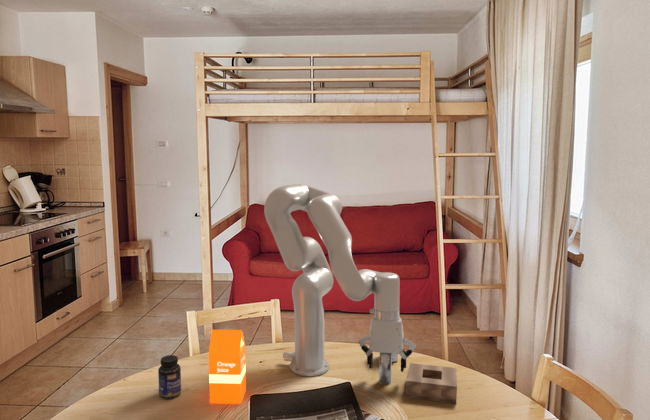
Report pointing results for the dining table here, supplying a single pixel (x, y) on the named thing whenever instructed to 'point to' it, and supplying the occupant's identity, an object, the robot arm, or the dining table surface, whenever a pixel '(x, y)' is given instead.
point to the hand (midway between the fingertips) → (386, 368)
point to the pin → (385, 368)
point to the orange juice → (227, 367)
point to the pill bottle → (169, 377)
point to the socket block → (432, 383)
